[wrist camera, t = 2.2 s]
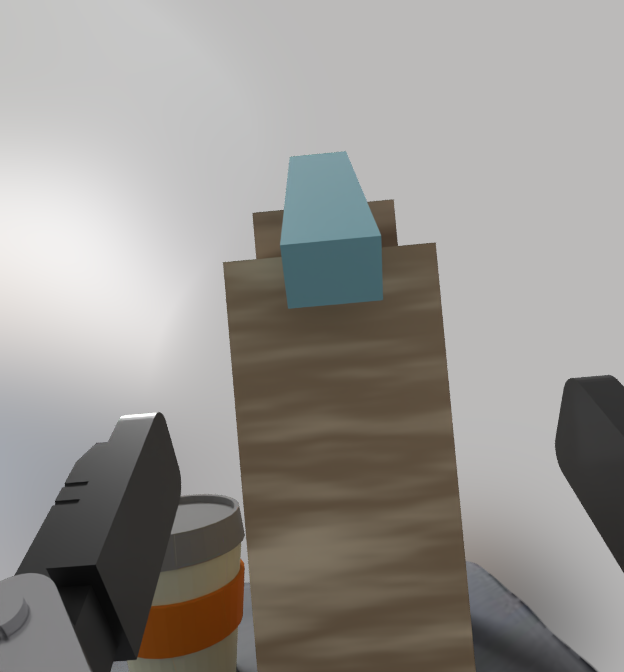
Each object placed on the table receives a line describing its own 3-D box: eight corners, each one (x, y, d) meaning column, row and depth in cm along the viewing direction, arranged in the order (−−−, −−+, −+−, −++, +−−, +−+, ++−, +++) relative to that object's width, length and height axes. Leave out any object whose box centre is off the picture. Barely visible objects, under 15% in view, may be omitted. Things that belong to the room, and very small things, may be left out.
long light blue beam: (386, 297, 26) (359, -4, 26) (285, 306, 26) (259, 7, 26) (359, 320, 48) (345, 158, 49) (305, 325, 49) (291, 163, 49)
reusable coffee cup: (199, 628, 57) (188, 488, 57) (284, 666, 49) (270, 502, 49) (85, 693, 47) (72, 524, 48) (167, 753, 39) (151, 549, 39)
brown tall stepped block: (486, 787, 34) (427, 155, 35) (268, 800, 34) (215, 176, 35) (440, 658, 48) (399, 210, 49) (286, 668, 48) (248, 224, 49)
